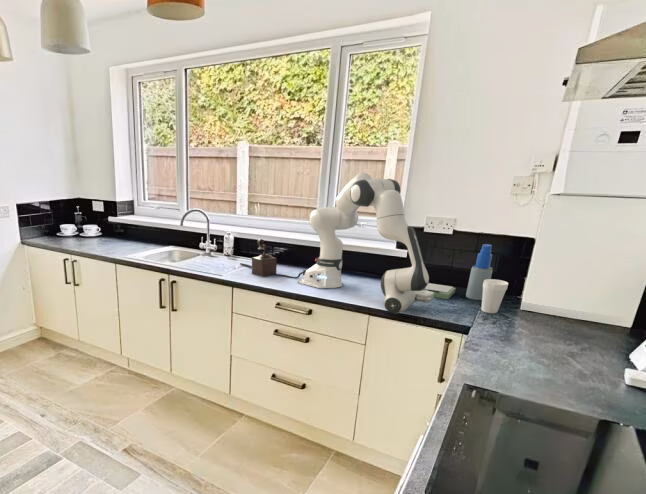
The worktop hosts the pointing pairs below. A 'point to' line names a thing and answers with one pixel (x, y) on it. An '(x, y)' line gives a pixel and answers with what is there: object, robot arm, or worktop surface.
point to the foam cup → (493, 294)
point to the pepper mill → (263, 262)
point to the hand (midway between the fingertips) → (414, 289)
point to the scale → (440, 290)
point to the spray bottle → (480, 273)
